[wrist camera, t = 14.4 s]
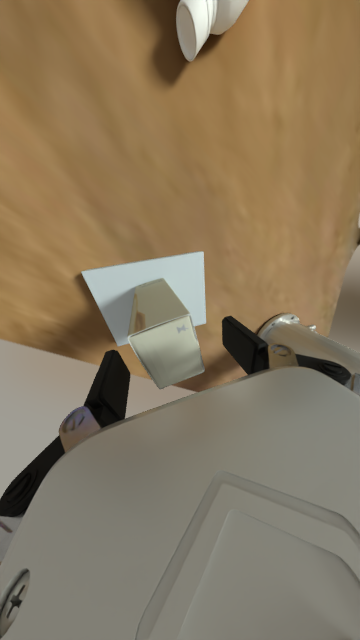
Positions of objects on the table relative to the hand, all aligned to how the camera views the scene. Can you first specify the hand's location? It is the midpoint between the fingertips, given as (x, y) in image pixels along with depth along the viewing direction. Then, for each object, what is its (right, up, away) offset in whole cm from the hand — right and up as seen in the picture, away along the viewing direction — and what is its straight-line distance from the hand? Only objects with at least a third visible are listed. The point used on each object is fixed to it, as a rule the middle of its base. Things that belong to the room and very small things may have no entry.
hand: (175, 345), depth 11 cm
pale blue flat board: (-4, +6, +11) cm, 13 cm away
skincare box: (-3, +5, +9) cm, 11 cm away
